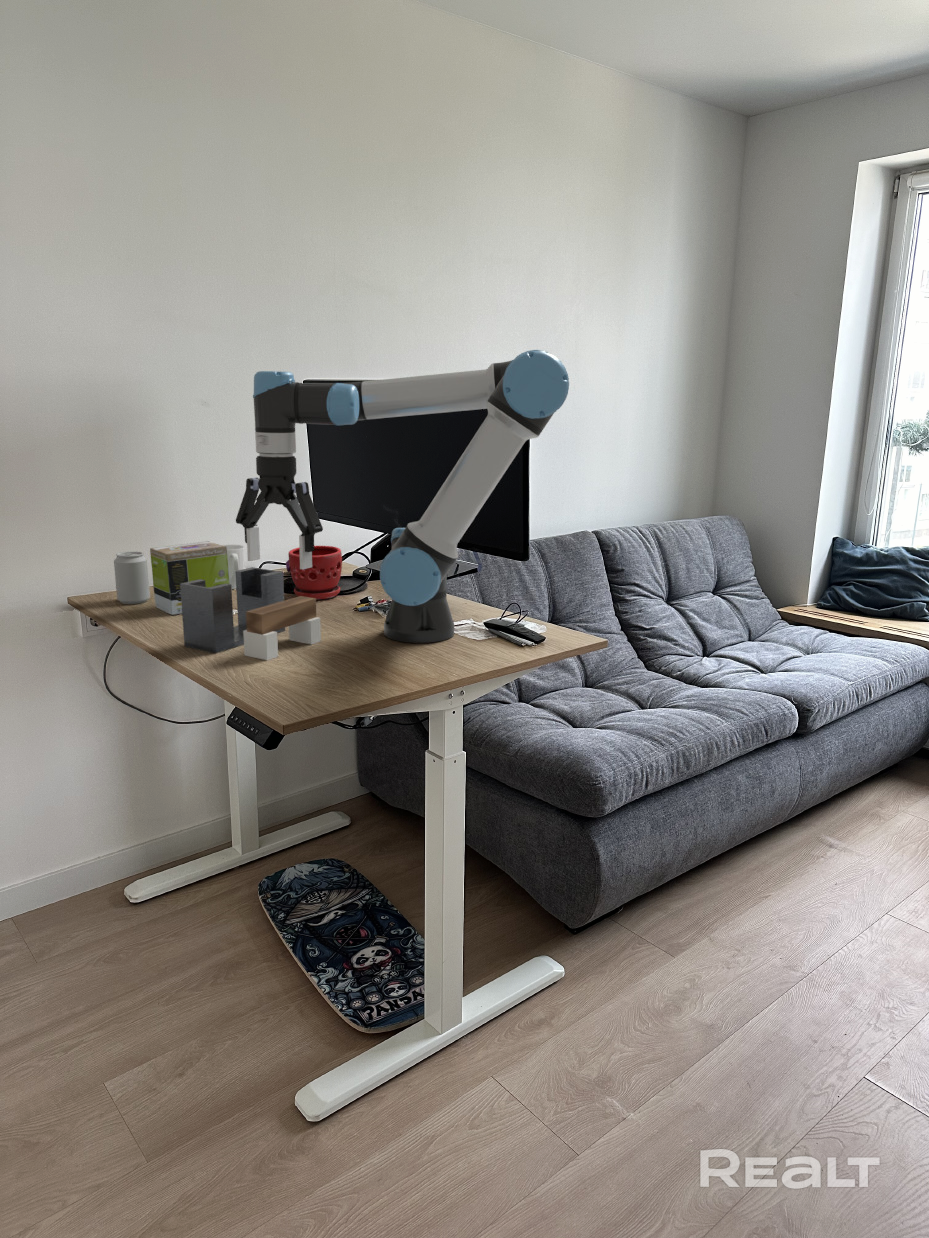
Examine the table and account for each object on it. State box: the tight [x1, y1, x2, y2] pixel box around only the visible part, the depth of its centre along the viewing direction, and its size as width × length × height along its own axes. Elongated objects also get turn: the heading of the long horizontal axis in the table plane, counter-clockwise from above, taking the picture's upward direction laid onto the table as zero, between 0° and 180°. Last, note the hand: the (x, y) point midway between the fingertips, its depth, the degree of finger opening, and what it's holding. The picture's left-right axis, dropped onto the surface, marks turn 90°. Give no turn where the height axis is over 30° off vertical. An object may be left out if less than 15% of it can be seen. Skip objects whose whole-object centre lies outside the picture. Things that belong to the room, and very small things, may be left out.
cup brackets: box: [180, 566, 286, 654], centre depth 181 cm, size 9×20×13 cm, turn 150°
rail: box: [246, 596, 317, 635], centre depth 175 cm, size 4×16×4 cm, turn 149°
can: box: [113, 551, 151, 605], centre depth 211 cm, size 8×8×12 cm
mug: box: [222, 544, 247, 590], centre depth 227 cm, size 12×8×10 cm, turn 26°
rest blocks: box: [243, 616, 322, 661], centre depth 176 cm, size 6×16×5 cm, turn 150°
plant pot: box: [287, 545, 343, 601], centre depth 219 cm, size 13×13×12 cm
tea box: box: [149, 540, 230, 616], centre depth 206 cm, size 15×10×15 cm, turn 131°
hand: (279, 564), depth 172 cm, fingers open, 13 cm apart
